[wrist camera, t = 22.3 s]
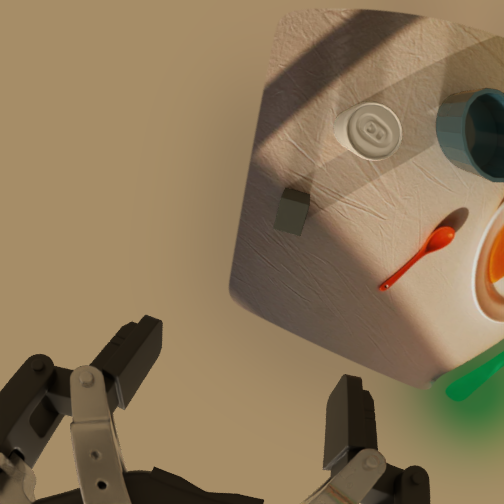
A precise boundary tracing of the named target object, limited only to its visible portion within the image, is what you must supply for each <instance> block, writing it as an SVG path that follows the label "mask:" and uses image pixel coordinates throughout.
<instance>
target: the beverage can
mask: <svg viewBox="0 0 504 504" xmlns="http://www.w3.org/2000/svg"><path fill="white" fill-rule="evenodd" d="M334 134H335V137H336V139H337V141H338V142H339V143H340V144H341V145H342V146H343V147H345V148H347V149H348V150H350V151H351V152H353V153H354V154H356V155H358V156H359V157H361V158H363V159H366V160H370V161H379V160H383V159H386V158H388V157H390V156H392V155H393V154H394V153H395V152H396V151H397V150H398V148H399V147H400V145H401V142H402V137H403V130H402V125H401V122H400V120H399V118H398V117H397V115H396V114H395V113H394V112H393V111H392V110H391V109H390V108H389V107H387V106H385V105H384V104H381V103H378V102H374V101H366V102H362V103H359V104H357V105H355V106H353V107H351V108H349V109H347V110H345V111H344V112H342V113H340V114H339V115H338V117H337V118H336V120H335V122H334Z"/></svg>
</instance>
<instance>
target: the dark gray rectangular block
mask: <svg viewBox="0 0 504 504" xmlns="http://www.w3.org/2000/svg"><path fill="white" fill-rule="evenodd" d="M309 203H310V194H307V193H303V192H299V191H296V190H292V189H289V188H285V190H284V192H283V195H282V197H281V200H280V204H279V208H278V212H277V216H276V220H275V223H274V227H273V229H276V230H280V231H283V232H287V233H290V234H294V235H297V236H301V232H302V229H303V226H304V222H305V219H306V215H307V212H308V208H309Z"/></svg>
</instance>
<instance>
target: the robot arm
mask: <svg viewBox="0 0 504 504" xmlns="http://www.w3.org/2000/svg"><path fill="white" fill-rule="evenodd" d="M162 324H163V323H162V321H161V320H159V319H156V318H153V317H151V316H148V315H145V316H144V317H143V318H142V319H141V320H140V322H139V323H138V324H137V323H134V322H130V323H128V324H127V325H124V326H122V327H121V329H120V330H119V331H118V332H117V333H116V335H115V336H114V337H113V338H112V339H111V340H110V342H109V343H108V344H107V345H106V346H105V347H104V349H103V350H102V351H101V352H100V353H99V355H98V356H97V357H96V358H95V359H94V360H93V362H92V363H91V364H90V365H89V366H88V365H86V366H80V367H78V368H76V369H75V370H70V369H65V368H61V367H57V366H54V364H53V362H52V360H51V359H50V357H48V356H46V355H43V354H36V355H33V356H31V357H29V358H28V359H27V360H26V361H25V363H24V364H23V365H22V366H21V367H20V369H19V370H18V371H17V372H16V373H15V374H14V376H13V377H12V378H11V379H10V380H9V382H8V383H7V384H6V385H5V386H4V388H3V389H2V390H1V391H0V504H263V502H264V500H263V499H258V498H253V497H249V496H244V495H240V494H231V493H213V492H206V491H204V490H202V489H200V488H198V487H196V486H195V485H193V484H191V483H190V482H188V481H187V480H185V479H183V478H182V477H180V476H177V475H174V474H172V473H169V472H166V471H164V470H161V469H159V468H156V467H154V468H153V470H152V472H151V471H143V470H141V471H140V470H138V471H127V468H126V465H125V461H124V458H123V455H122V452H121V448H120V444H119V439H118V435H117V430H116V426H115V421H114V416H113V412H114V411H115V409H116V408H117V407H119V408H122V409H124V410H125V409H126V407H127V406H128V404H129V402H130V401H131V399H132V398H133V396H134V394H135V393H136V391H137V390H138V388H139V386H140V385H141V383H142V382H143V380H144V379H145V377H146V375H147V374H148V372H149V371H150V369H151V368H152V366H153V364H154V363H155V361H156V360H157V358H158V356H159V354H160V351H161V348H162V326H163V325H162ZM374 411H375V409H374V400H373V399H372V396H371V395H370V393H369V391H367V390H363V388H362V379H361V378H360V377H356V376H351V375H346V374H345V375H343V376H342V377H341V379H340V381H339V382H338V384H337V385H336V387H335V388H334V390H333V391H332V393H331V395H330V396H329V399H328V402H327V408H326V430H325V446H324V460H323V470H331V477H330V478H328V479H327V480H326V481H325V482H324V483H323V484H322V485H321V486H320V487H319V488H318V489H316V490H315V491H314V492H313V493H312V494H311V495H310V496H309V497H308V498H306V499H305V500H304V501H303V502H302V503H301V504H359V503H361V504H430V485H429V476H428V474H427V472H426V471H425V470H424V469H423V468H422V467H420V466H410V467H408V468H406V469H405V470H403V469H400V468H397V467H395V466H392V465H390V464H388V463H386V460H385V458H384V456H383V455H382V454H381V453H380V452H379V451H378V448H377V447H378V446H377V433H376V421H375V412H374ZM65 415H68V416H72V417H73V422H72V423H71V424H70V430H71V439H72V446H73V453H74V459H75V465H76V471H77V476H78V481H79V485H80V488H77V489H74V490H71V491H68V492H64V493H61V494H57V495H53V496H49V497H45V498H41V499H38V500H35V497H34V488H35V485H36V477H35V474H34V472H33V470H32V468H33V466H34V465H35V463H36V461H37V459H38V458H39V456H40V454H41V453H42V451H43V449H44V447H45V446H46V444H47V443H48V441H49V440H50V438H51V436H52V434H53V433H54V431H55V430H56V428H57V427H58V425H59V423H60V422H61V420H62V418H63V417H64V416H65Z"/></svg>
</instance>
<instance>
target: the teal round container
mask: <svg viewBox="0 0 504 504" xmlns="http://www.w3.org/2000/svg"><path fill="white" fill-rule="evenodd" d="M436 132H437V138H438V141H439V144H440V147H441V149H442V151H443V153H444V154H445V156H446V157H447V158H448V159H449V161H450V162H451V163H453V164H454V165H455V166H457V167H458V168H460V169H463V170H465V171H467V172H470V173H472V174H475V175H477V176H480V177H482V178H485V179H487V180H489V181H492V182H504V93H502V92H501V91H499V90H496V89H489V88H483V89H476V90H470V91H463V92H459V93H456V94H453V95H451V96H449V97H448V98H447V99H446V100H445V101H444V102H443V103H442V105H441V106H440V108H439V111H438V114H437V118H436Z"/></svg>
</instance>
